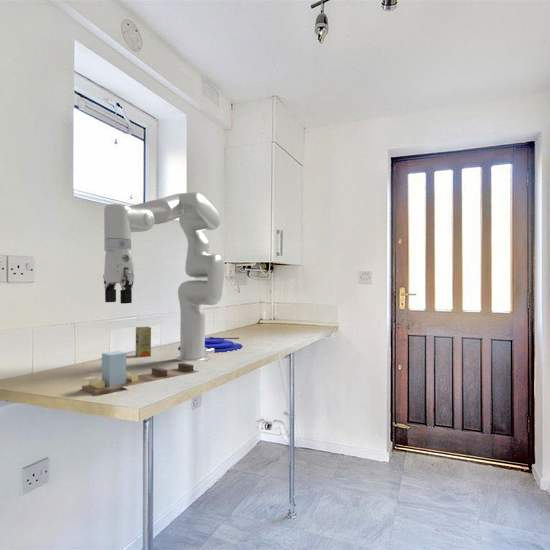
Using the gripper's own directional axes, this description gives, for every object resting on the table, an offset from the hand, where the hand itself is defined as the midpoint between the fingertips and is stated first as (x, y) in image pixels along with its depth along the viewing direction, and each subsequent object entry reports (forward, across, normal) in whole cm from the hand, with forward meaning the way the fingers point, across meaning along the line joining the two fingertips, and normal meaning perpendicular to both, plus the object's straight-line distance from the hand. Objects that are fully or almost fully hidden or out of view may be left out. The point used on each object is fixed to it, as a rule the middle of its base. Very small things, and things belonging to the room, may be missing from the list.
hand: (118, 302), depth 119 cm
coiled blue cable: (+27, +34, -63) cm, 77 cm away
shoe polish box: (+26, +39, -30) cm, 55 cm away
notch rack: (+25, -2, -8) cm, 26 cm away
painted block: (+24, -2, +2) cm, 24 cm away
